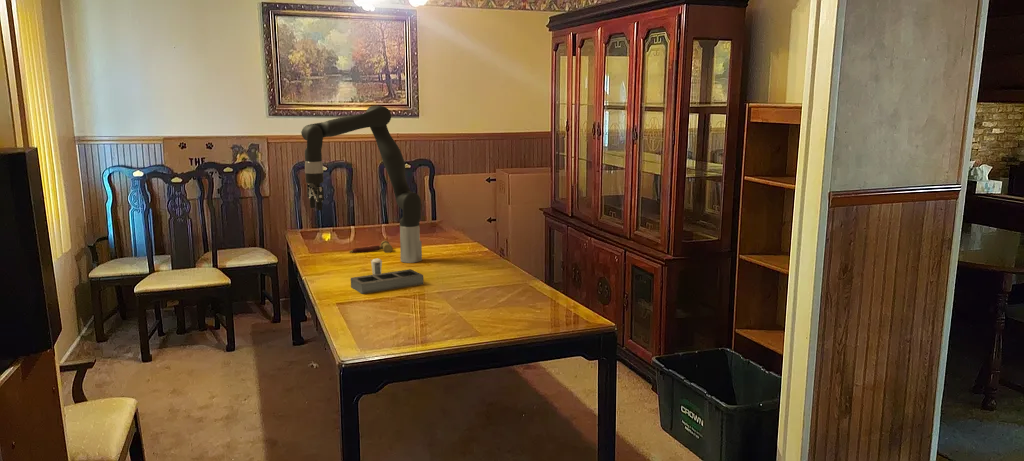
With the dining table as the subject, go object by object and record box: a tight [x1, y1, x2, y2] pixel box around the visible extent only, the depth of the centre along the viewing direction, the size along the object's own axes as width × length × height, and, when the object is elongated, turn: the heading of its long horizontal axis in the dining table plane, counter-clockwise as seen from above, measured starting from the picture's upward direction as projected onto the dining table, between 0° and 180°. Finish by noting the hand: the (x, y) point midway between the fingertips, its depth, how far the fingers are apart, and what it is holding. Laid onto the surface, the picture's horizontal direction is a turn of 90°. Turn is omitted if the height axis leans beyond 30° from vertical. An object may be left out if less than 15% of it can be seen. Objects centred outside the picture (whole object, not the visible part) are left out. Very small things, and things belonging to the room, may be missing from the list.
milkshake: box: [370, 257, 383, 275], centre depth 298 cm, size 4×5×10 cm
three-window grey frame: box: [350, 268, 424, 295], centre depth 289 cm, size 27×12×4 cm, turn 124°
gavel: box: [348, 240, 393, 254], centre depth 354 cm, size 21×5×10 cm
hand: (316, 209), depth 304 cm, fingers open, 8 cm apart
